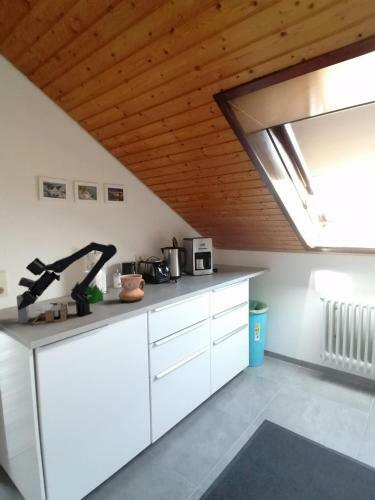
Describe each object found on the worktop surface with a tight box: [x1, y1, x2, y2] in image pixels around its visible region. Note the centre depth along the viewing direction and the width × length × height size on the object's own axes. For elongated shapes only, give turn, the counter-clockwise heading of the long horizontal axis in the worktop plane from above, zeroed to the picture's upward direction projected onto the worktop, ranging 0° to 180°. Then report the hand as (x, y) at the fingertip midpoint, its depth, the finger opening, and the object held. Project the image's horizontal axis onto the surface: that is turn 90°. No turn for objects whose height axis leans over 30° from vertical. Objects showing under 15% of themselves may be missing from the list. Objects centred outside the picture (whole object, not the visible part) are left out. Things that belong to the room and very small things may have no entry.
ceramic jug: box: [117, 273, 146, 302], centre depth 166 cm, size 18×14×14 cm
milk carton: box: [82, 266, 104, 304], centre depth 166 cm, size 9×9×20 cm
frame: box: [32, 301, 70, 326], centre depth 137 cm, size 16×14×6 cm
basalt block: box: [16, 293, 31, 324], centre depth 133 cm, size 4×5×12 cm
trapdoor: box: [34, 303, 62, 317], centre depth 136 cm, size 12×10×3 cm
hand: (19, 307), depth 133 cm, fingers closed on basalt block, 5 cm apart
